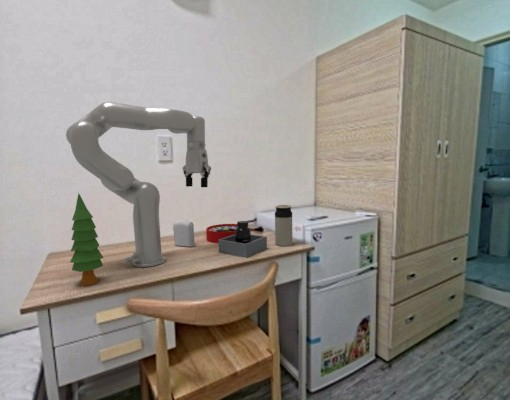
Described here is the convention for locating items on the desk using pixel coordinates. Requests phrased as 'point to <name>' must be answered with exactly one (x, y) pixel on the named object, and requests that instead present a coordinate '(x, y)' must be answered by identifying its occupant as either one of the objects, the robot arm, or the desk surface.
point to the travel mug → (283, 225)
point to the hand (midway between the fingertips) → (196, 186)
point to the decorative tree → (85, 244)
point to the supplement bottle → (242, 232)
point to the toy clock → (220, 232)
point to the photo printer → (183, 233)
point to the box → (242, 246)
